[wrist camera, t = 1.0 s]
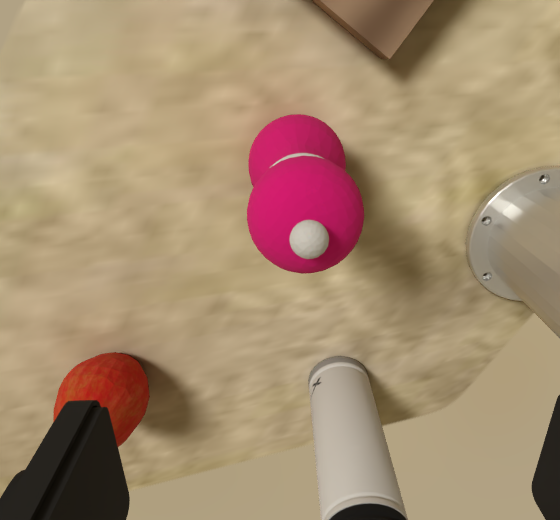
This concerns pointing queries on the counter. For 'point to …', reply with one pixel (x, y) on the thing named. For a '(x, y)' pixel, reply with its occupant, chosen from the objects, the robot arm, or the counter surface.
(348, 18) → the walnut base
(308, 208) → the pepper mill
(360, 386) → the travel mug
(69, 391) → the apple
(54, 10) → the counter surface
